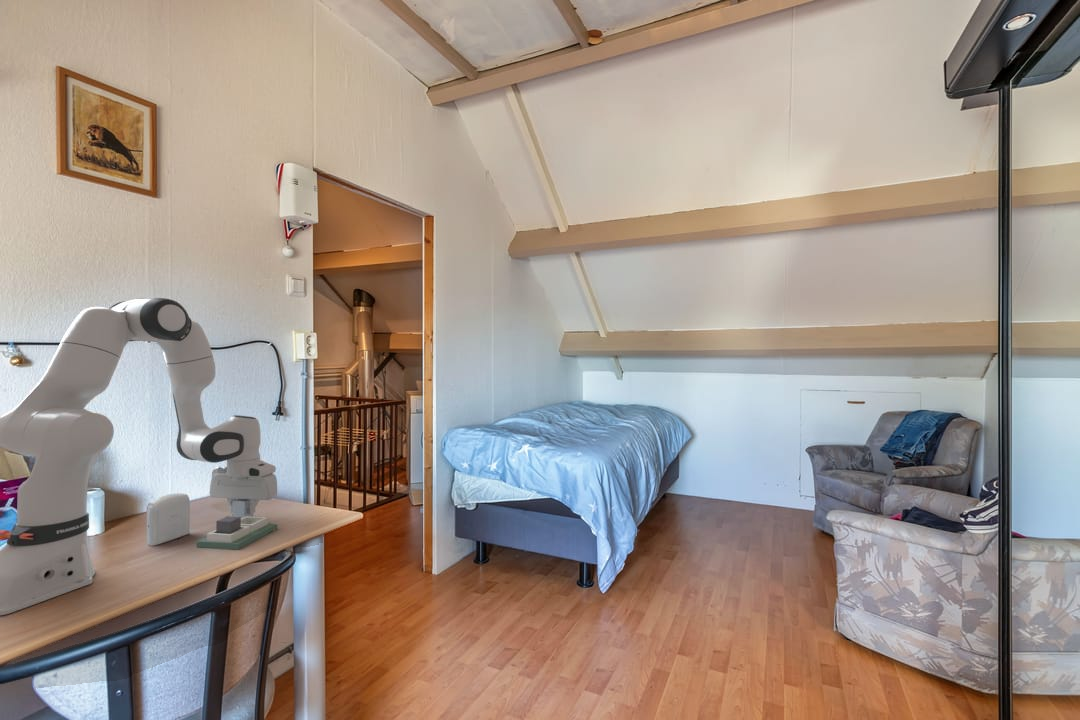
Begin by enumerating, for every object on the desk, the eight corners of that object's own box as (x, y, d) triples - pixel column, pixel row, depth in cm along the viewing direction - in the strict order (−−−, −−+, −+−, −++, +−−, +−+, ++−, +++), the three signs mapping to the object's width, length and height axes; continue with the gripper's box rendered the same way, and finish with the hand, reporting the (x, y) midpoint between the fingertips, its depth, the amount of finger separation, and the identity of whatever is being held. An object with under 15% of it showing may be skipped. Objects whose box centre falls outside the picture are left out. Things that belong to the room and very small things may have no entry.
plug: (244, 524, 149) (244, 499, 149) (232, 524, 149) (232, 499, 149) (253, 520, 153) (253, 496, 153) (241, 519, 153) (241, 495, 153)
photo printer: (154, 547, 130) (155, 500, 130) (143, 545, 132) (143, 498, 132) (192, 534, 140) (192, 490, 140) (181, 532, 142) (182, 489, 142)
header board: (238, 549, 129) (238, 524, 129) (196, 547, 131) (196, 522, 131) (277, 529, 145) (277, 507, 145) (239, 526, 147) (239, 505, 147)
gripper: (204, 468, 149) (203, 514, 149) (267, 471, 147) (266, 517, 147) (220, 464, 155) (219, 508, 155) (280, 466, 153) (280, 511, 153)
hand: (242, 512), depth 151 cm, fingers closed on plug, 4 cm apart
